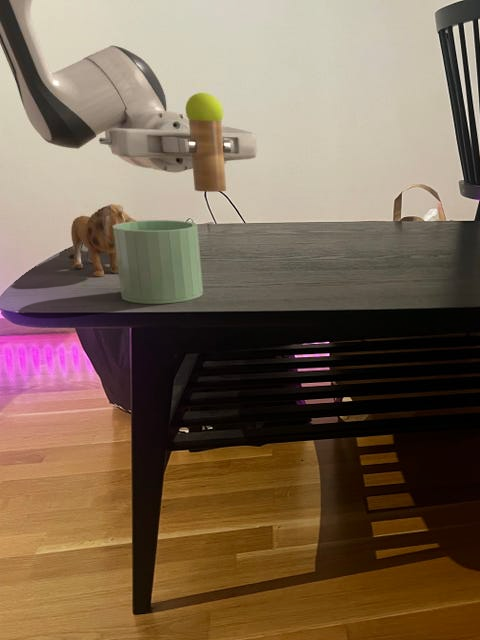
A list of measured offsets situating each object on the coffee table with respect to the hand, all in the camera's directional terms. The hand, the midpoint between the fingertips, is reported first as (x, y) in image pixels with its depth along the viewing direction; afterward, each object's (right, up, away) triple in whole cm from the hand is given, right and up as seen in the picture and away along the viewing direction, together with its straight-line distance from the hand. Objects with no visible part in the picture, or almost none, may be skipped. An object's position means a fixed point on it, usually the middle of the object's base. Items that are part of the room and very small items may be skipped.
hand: (210, 146), depth 97 cm
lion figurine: (-12, -18, -5) cm, 22 cm away
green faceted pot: (+1, -22, -16) cm, 27 cm away
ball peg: (-1, -5, +2) cm, 6 cm away
